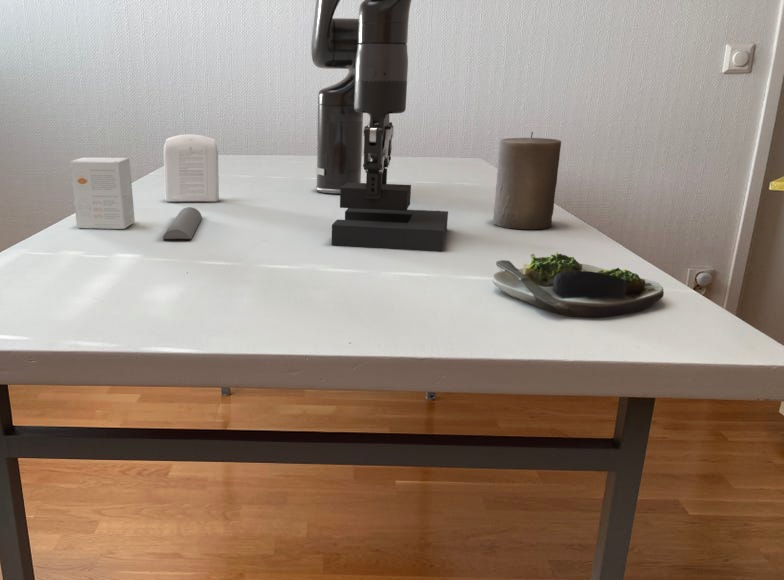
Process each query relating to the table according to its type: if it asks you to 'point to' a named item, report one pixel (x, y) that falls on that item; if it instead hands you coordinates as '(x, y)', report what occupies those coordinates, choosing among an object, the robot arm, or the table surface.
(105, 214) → the small box
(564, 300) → the salad plate
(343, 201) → the pad piece
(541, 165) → the pillar candle
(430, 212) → the slotted rectangular block
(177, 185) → the white arched block
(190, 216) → the half round rod
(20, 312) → the table surface
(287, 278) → the table surface
